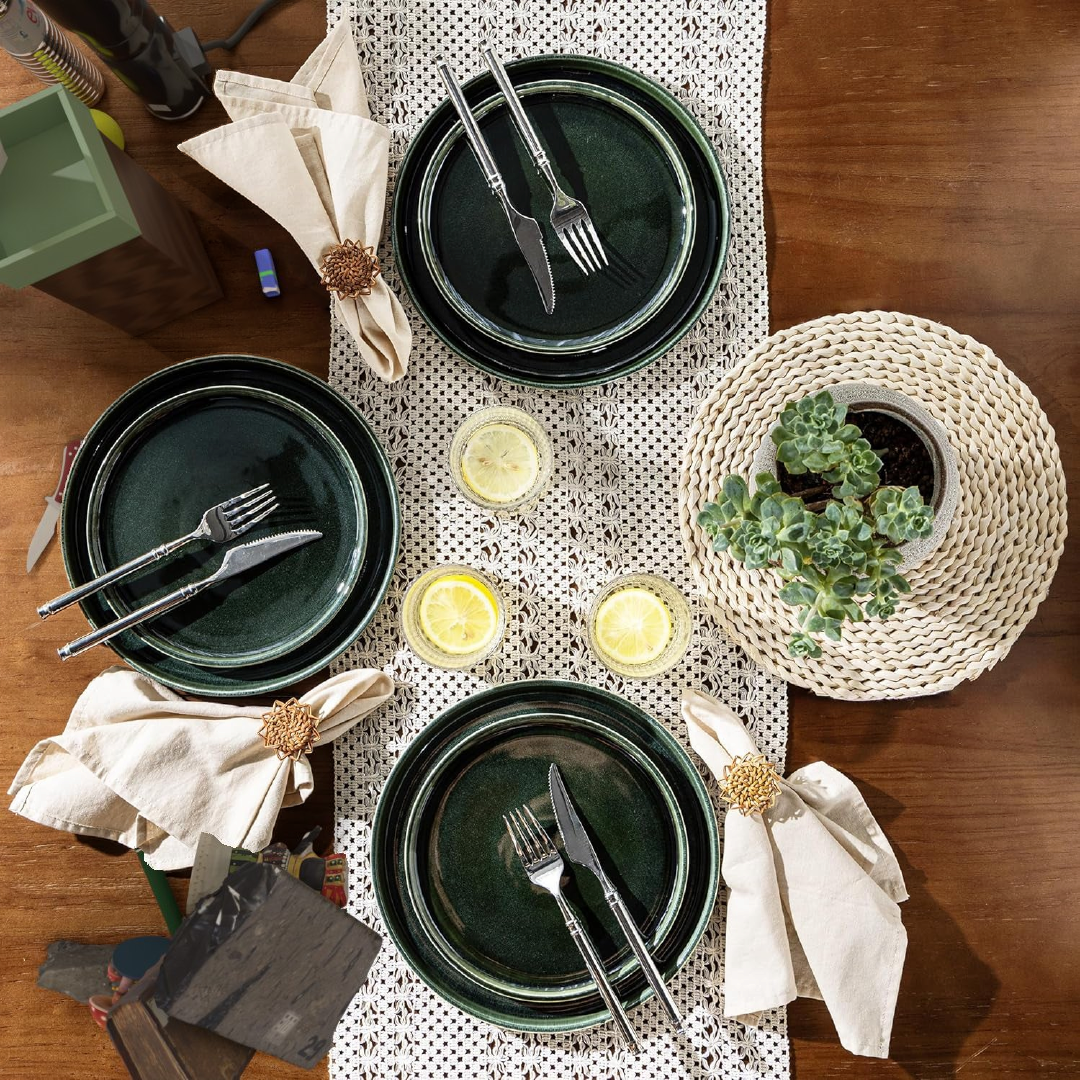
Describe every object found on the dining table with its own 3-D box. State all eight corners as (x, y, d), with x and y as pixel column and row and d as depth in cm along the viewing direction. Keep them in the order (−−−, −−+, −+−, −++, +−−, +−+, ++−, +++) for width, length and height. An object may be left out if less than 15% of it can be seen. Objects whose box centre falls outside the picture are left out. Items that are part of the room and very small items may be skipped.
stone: (35, 1012, 112) (-2, 1008, 104) (58, 942, 117) (25, 933, 108) (167, 1018, 112) (141, 1015, 104) (185, 948, 117) (162, 940, 109)
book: (199, 911, 113) (95, 1014, 88) (244, 890, 113) (153, 987, 88) (249, 1019, 113) (159, 1153, 88) (294, 998, 113) (216, 1127, 88)
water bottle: (106, 111, 115) (-22, -10, 90) (60, 111, 115) (-82, -9, 90) (107, 63, 115) (-21, -71, 90) (60, 64, 115) (-80, -70, 90)
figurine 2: (177, 960, 100) (340, 962, 106) (196, 840, 100) (359, 848, 105) (191, 911, 112) (337, 914, 117) (208, 803, 112) (354, 812, 117)
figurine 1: (104, 934, 107) (88, 994, 108) (96, 979, 99) (78, 1044, 99) (198, 937, 112) (183, 994, 113) (199, 980, 104) (182, 1042, 104)
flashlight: (165, 829, 116) (221, 960, 114) (131, 846, 115) (187, 978, 113) (152, 836, 111) (210, 973, 109) (116, 854, 110) (174, 993, 108)
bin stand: (186, 207, 114) (85, 117, 90) (224, 296, 114) (133, 230, 90) (98, 247, 115) (-27, 168, 91) (135, 336, 115) (20, 281, 91)
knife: (67, 435, 113) (87, 443, 113) (72, 436, 115) (92, 444, 115) (13, 568, 114) (33, 577, 114) (18, 568, 115) (38, 576, 115)
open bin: (89, 108, 90) (60, 81, 85) (142, 234, 90) (116, 215, 85) (-36, 164, 91) (-72, 142, 86) (17, 290, 91) (-16, 275, 85)
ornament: (128, 179, 115) (86, 145, 105) (81, 169, 115) (34, 134, 105) (139, 131, 115) (98, 91, 105) (91, 121, 115) (46, 80, 105)
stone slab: (285, 874, 91) (414, 957, 111) (255, 828, 97) (381, 915, 117) (152, 1013, 86) (312, 1075, 105) (129, 955, 92) (284, 1024, 112)
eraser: (263, 292, 112) (277, 289, 112) (253, 251, 112) (267, 248, 112) (267, 297, 114) (281, 294, 114) (257, 256, 114) (271, 253, 114)
